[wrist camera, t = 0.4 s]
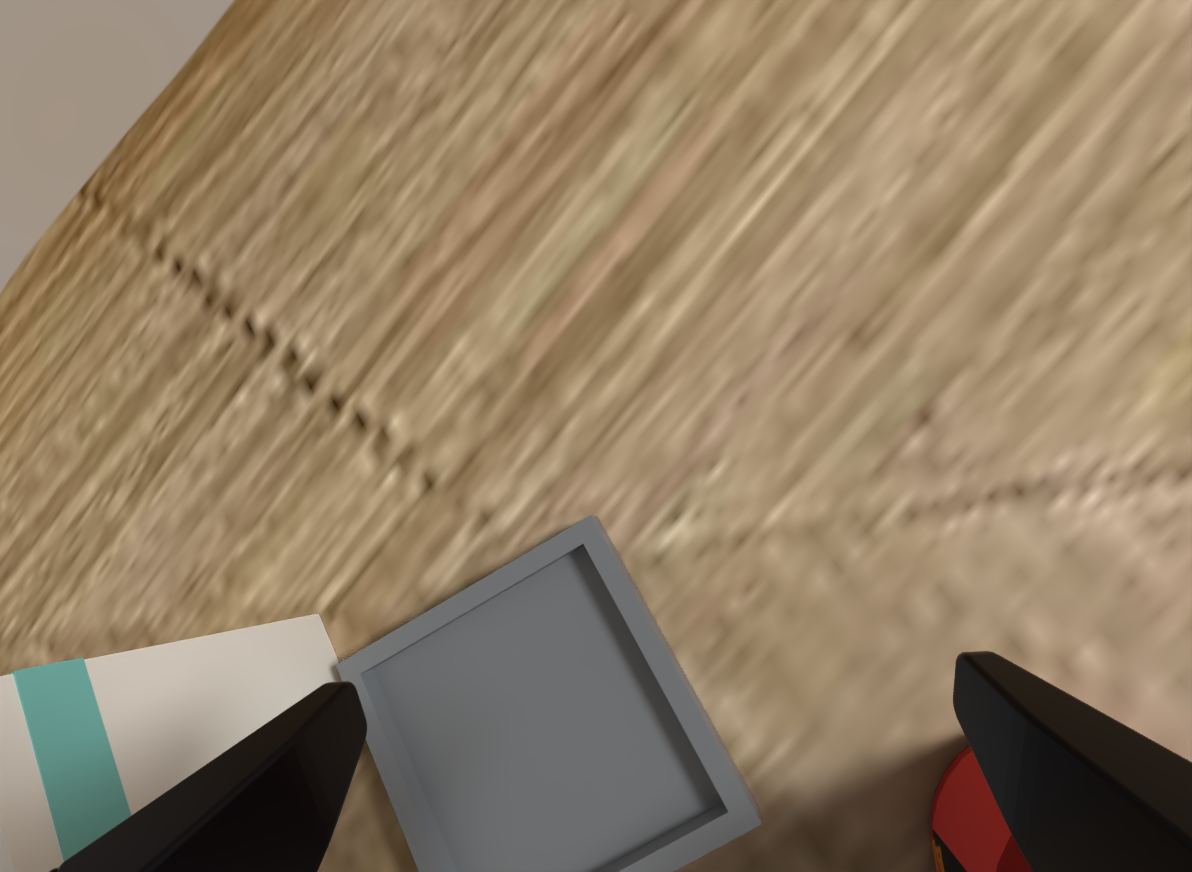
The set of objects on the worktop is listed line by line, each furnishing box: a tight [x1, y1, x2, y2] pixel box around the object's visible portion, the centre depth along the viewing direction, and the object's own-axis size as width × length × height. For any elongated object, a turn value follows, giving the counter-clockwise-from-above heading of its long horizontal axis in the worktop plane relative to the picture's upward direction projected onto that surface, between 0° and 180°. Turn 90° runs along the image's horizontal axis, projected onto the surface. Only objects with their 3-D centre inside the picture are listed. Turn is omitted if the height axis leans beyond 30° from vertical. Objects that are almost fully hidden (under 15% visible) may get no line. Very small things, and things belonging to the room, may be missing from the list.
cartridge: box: [0, 613, 343, 872], centre depth 18 cm, size 5×5×12 cm
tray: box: [336, 515, 762, 872], centre depth 22 cm, size 12×12×2 cm
